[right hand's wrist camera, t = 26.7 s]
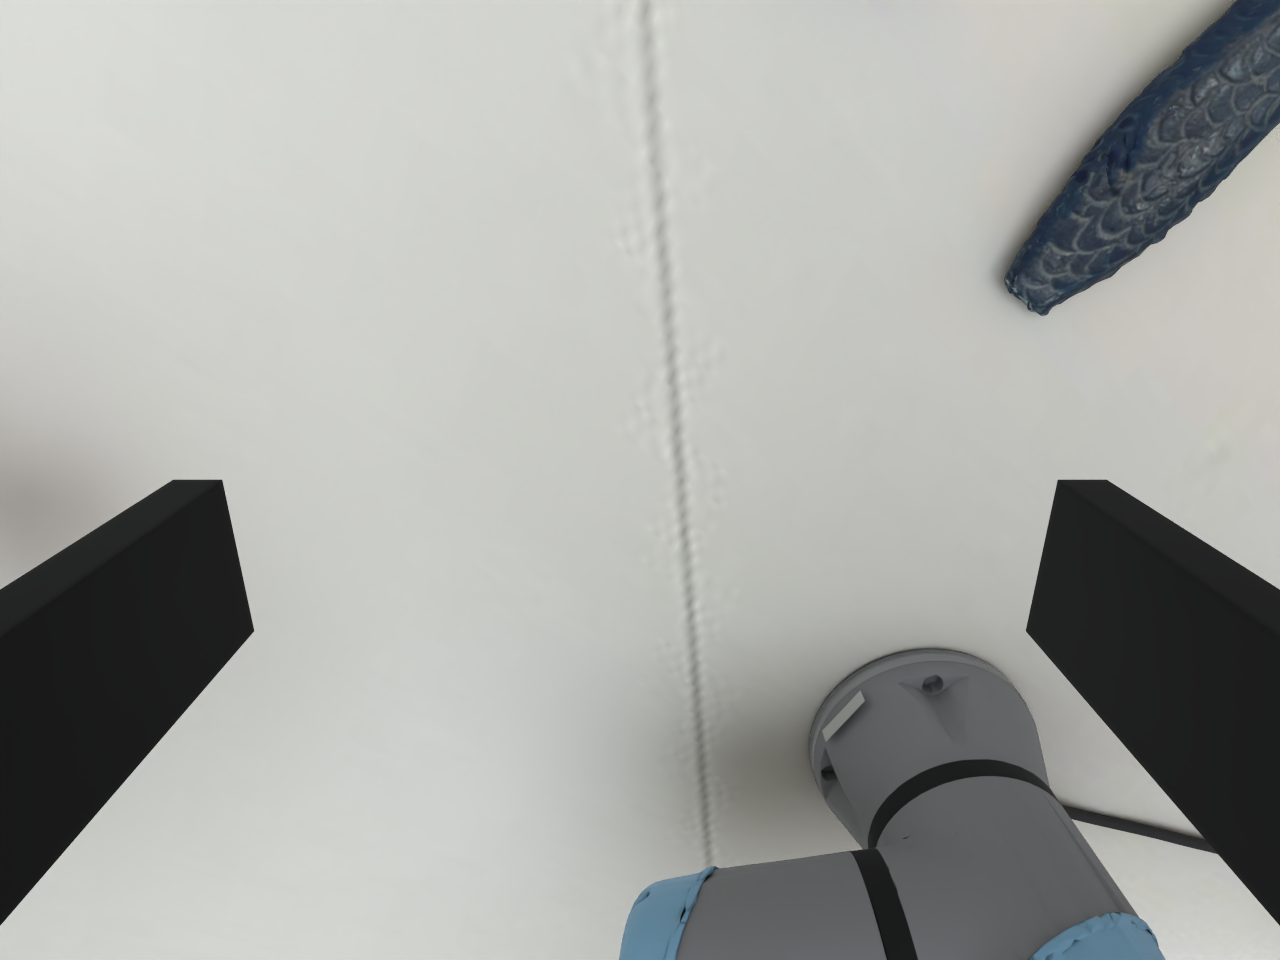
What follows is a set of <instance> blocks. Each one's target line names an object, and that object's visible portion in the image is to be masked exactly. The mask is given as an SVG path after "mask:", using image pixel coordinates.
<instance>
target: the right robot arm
mask: <svg viewBox="0 0 1280 960" xmlns="http://www.w3.org/2000/svg"><path fill="white" fill-rule="evenodd" d="M253 632H254V628H253V623H252V619H251V614H250V609H249V604H248V600H247V595H246V590H245V586H244V581H243V576H242V571H241V567H240V562H239V557H238V552H237V548H236V543H235V538H234V534H233V529H232V524H231V519H230V515H229V510H228V505H227V501H226V496H225V491H224V486H223V482H222V480H172V481H171V482H169V483H168V484H166V485H164V486H163V487H161V488H160V489H158V490H157V491H155V492H153V493H152V494H150V495H149V496H147V497H146V498H144V499H142V500H141V501H139V502H138V503H136V504H134V505H133V506H131V507H130V508H128V509H127V510H125V511H123V512H122V513H120V514H119V515H117V516H116V517H114V518H112V519H111V520H109V521H108V522H106V523H105V524H103V525H101V526H100V527H98V528H97V529H95V530H94V531H92V532H90V533H89V534H87V535H86V536H84V537H83V538H81V539H79V540H78V541H76V542H75V543H73V544H72V545H70V546H68V547H67V548H65V549H64V550H62V551H60V552H59V553H57V554H56V555H54V556H53V557H51V558H49V559H48V560H46V561H45V562H43V563H42V564H40V565H38V566H37V567H35V568H34V569H32V570H31V571H29V572H27V573H26V574H24V575H23V576H21V577H20V578H18V579H16V580H15V581H13V582H12V583H10V584H9V585H7V586H5V587H4V588H2V589H1V590H0V925H1V924H2V923H3V922H4V921H5V919H6V918H7V917H8V916H9V915H10V914H11V912H12V911H13V910H14V909H15V908H16V907H17V905H18V904H19V903H20V902H21V901H22V900H23V898H24V897H25V896H26V895H27V894H28V893H29V892H30V890H31V889H32V888H33V887H34V886H35V885H36V883H37V882H38V881H39V880H40V879H41V878H42V876H43V875H44V874H45V873H46V872H47V871H48V869H49V868H50V867H51V866H52V865H53V864H54V863H55V861H56V860H57V859H58V858H59V857H60V856H61V854H62V853H63V852H64V851H65V850H66V849H67V847H68V846H69V845H70V844H71V843H72V842H73V841H74V839H75V838H76V837H77V836H78V835H79V834H80V832H81V831H82V830H83V829H84V828H85V827H86V825H87V824H88V823H89V822H90V821H91V820H92V818H93V817H94V816H95V815H96V814H97V813H98V812H99V810H100V809H101V808H102V807H103V806H104V805H105V803H106V802H107V801H108V800H109V799H110V798H111V796H112V795H113V794H114V793H115V792H116V791H117V789H118V788H119V787H120V786H121V785H122V784H123V783H124V781H125V780H126V779H127V778H128V777H129V776H130V774H131V773H132V772H133V771H134V770H135V769H136V767H137V766H138V765H139V764H140V763H141V762H142V760H143V759H144V758H145V757H146V756H147V755H148V754H149V752H150V751H151V750H152V749H153V748H154V747H155V745H156V744H157V743H158V742H159V741H160V740H161V738H162V737H163V736H164V735H165V734H166V733H167V731H168V730H169V729H170V728H171V727H172V726H173V725H174V723H175V722H176V721H177V720H178V719H179V718H180V716H181V715H182V714H183V713H184V712H185V711H186V709H187V708H188V707H189V706H190V705H191V704H192V702H193V701H194V700H195V699H196V698H197V697H198V696H199V694H200V693H201V692H202V691H203V690H204V689H205V687H206V686H207V685H208V684H209V683H210V682H211V680H212V679H213V678H214V677H215V676H216V675H217V673H218V672H219V671H220V670H221V669H222V668H223V667H224V665H225V664H226V663H227V662H228V661H229V660H230V658H231V657H232V656H233V655H234V654H235V653H236V651H237V650H238V649H239V648H240V647H241V646H242V644H243V643H244V642H245V641H246V640H247V639H248V638H249V636H250V635H251V634H252V633H253ZM1026 632H1027V633H1028V634H1029V635H1030V636H1031V638H1032V639H1033V640H1034V641H1035V642H1036V643H1037V644H1038V646H1039V647H1040V648H1041V649H1042V650H1043V651H1044V653H1045V654H1046V655H1047V656H1048V657H1049V658H1050V660H1051V661H1052V662H1053V663H1054V664H1055V665H1056V667H1057V668H1058V669H1059V670H1060V671H1061V672H1062V673H1063V675H1064V676H1065V677H1066V678H1067V679H1068V680H1069V682H1070V683H1071V684H1072V685H1073V686H1074V687H1075V689H1076V690H1077V691H1078V692H1079V693H1080V694H1081V696H1082V697H1083V698H1084V699H1085V700H1086V701H1087V702H1088V704H1089V705H1090V706H1091V707H1092V708H1093V709H1094V711H1095V712H1096V713H1097V714H1098V715H1099V716H1100V718H1101V719H1102V720H1103V721H1104V722H1105V723H1106V725H1107V726H1108V727H1109V728H1110V729H1111V730H1112V731H1113V733H1114V734H1115V735H1116V736H1117V737H1118V738H1119V740H1120V741H1121V742H1122V743H1123V744H1124V745H1125V747H1126V748H1127V749H1128V750H1129V751H1130V752H1131V754H1132V755H1133V756H1134V757H1135V758H1136V759H1137V760H1138V762H1139V763H1140V764H1141V765H1142V766H1143V767H1144V769H1145V770H1146V771H1147V772H1148V773H1149V774H1150V776H1151V777H1152V778H1153V779H1154V780H1155V781H1156V783H1157V784H1158V785H1159V786H1160V787H1161V788H1162V789H1163V791H1164V792H1165V793H1166V794H1167V795H1168V796H1169V798H1170V799H1171V800H1172V801H1173V802H1174V803H1175V805H1176V806H1177V807H1178V808H1179V809H1180V810H1181V812H1182V813H1183V814H1184V815H1185V816H1186V817H1187V818H1188V820H1189V821H1190V822H1191V823H1192V824H1193V825H1194V827H1195V828H1196V829H1197V830H1198V831H1199V832H1200V834H1201V835H1202V836H1203V837H1204V838H1205V839H1206V840H1203V839H1199V838H1195V837H1191V836H1187V835H1183V834H1179V833H1175V832H1171V831H1168V830H1164V829H1160V828H1156V827H1152V826H1147V825H1143V824H1139V823H1135V822H1130V821H1126V820H1121V819H1117V818H1112V817H1108V816H1104V815H1099V814H1095V813H1091V812H1087V811H1083V810H1079V809H1075V808H1071V807H1067V806H1064V805H1061V804H1060V803H1059V801H1058V800H1057V798H1056V797H1055V795H1054V794H1053V792H1052V791H1051V789H1050V787H1049V782H1048V778H1047V773H1046V769H1045V764H1044V760H1043V755H1042V751H1041V746H1040V741H1039V737H1038V732H1037V728H1036V725H1035V722H1034V720H1033V718H1032V715H1031V713H1030V711H1029V709H1028V707H1027V705H1026V703H1025V701H1024V700H1023V698H1022V697H1021V696H1020V694H1019V693H1018V691H1017V690H1016V689H1015V687H1014V686H1013V685H1012V683H1011V682H1010V681H1009V680H1008V679H1007V678H1006V677H1005V676H1004V675H1003V674H1002V673H1001V672H1000V671H999V670H997V669H996V668H994V667H993V666H992V665H990V664H988V663H986V662H984V661H983V660H980V659H978V658H976V657H973V656H970V655H967V654H964V653H960V652H955V651H949V650H938V649H925V650H914V651H907V652H902V653H898V654H894V655H891V656H887V657H885V658H882V659H879V660H877V661H875V662H873V663H871V664H868V665H866V666H865V667H863V668H861V669H859V670H858V671H856V672H855V673H853V674H852V675H850V676H849V677H848V678H847V679H845V680H844V681H843V682H842V683H841V684H839V685H838V686H837V687H836V688H835V689H834V690H833V692H832V693H831V694H830V695H829V696H828V698H827V699H826V700H825V702H824V703H823V705H822V706H821V708H820V710H819V712H818V713H817V715H816V718H815V720H814V723H813V726H812V729H811V733H810V739H809V756H810V762H811V766H812V770H813V773H814V776H815V779H816V782H817V785H818V787H819V789H820V791H821V793H822V795H823V797H824V799H825V801H826V803H827V805H828V806H829V808H830V809H831V810H832V812H833V813H834V814H835V815H836V817H837V818H838V819H839V820H840V821H841V823H842V824H843V825H844V826H845V828H846V829H847V830H848V831H849V832H850V834H851V835H852V836H853V837H854V839H855V840H856V841H857V842H858V844H859V845H860V846H861V847H862V848H863V850H857V851H847V852H840V853H833V854H826V855H819V856H813V857H806V858H799V859H792V860H784V861H776V862H768V863H760V864H753V865H745V866H737V867H729V868H721V869H720V868H717V867H715V866H714V867H708V868H706V869H705V870H703V871H702V872H701V873H697V874H692V875H687V876H682V877H677V878H672V879H667V880H662V881H658V882H656V883H654V884H651V885H650V886H648V887H647V888H646V889H645V890H644V891H643V892H642V893H641V894H640V895H639V897H638V898H637V900H636V901H635V903H634V905H633V907H632V910H631V912H630V914H629V916H628V919H627V923H626V926H625V930H624V935H623V939H622V944H621V951H620V957H619V960H1165V958H1164V956H1163V955H1162V953H1161V951H1160V950H1159V947H1158V943H1157V939H1156V937H1155V935H1154V934H1153V933H1152V930H1151V929H1150V928H1149V926H1148V925H1147V923H1146V922H1144V921H1143V920H1142V919H1140V918H1139V917H1138V915H1137V914H1136V912H1135V911H1134V909H1133V908H1132V907H1131V905H1130V904H1129V902H1128V901H1127V899H1126V898H1125V896H1124V895H1123V894H1122V892H1121V891H1120V889H1119V888H1118V886H1117V885H1116V883H1115V882H1114V880H1113V879H1112V878H1111V876H1110V875H1109V873H1108V872H1107V870H1106V869H1105V867H1104V866H1103V865H1102V863H1101V862H1100V860H1099V859H1098V857H1097V856H1096V854H1095V853H1094V852H1093V850H1092V849H1091V847H1090V846H1089V844H1088V843H1087V841H1086V840H1085V839H1084V837H1083V836H1082V834H1081V833H1080V831H1079V830H1078V828H1077V827H1076V826H1075V824H1074V823H1073V821H1072V820H1071V819H1074V820H1078V821H1082V822H1086V823H1090V824H1095V825H1099V826H1103V827H1108V828H1112V829H1117V830H1121V831H1126V832H1130V833H1134V834H1139V835H1143V836H1147V837H1151V838H1156V839H1160V840H1163V841H1167V842H1171V843H1175V844H1179V845H1183V846H1187V847H1191V848H1195V849H1199V850H1203V851H1208V852H1212V853H1216V854H1219V856H1220V857H1221V858H1222V859H1223V860H1224V861H1225V863H1226V864H1227V865H1228V866H1229V867H1230V868H1231V869H1232V871H1233V872H1234V873H1235V874H1236V875H1237V876H1238V878H1239V879H1240V880H1241V881H1242V882H1243V883H1244V885H1245V886H1246V887H1247V888H1248V889H1249V890H1250V892H1251V893H1252V894H1253V895H1254V896H1255V897H1256V898H1257V900H1258V901H1259V902H1260V903H1261V904H1262V905H1263V907H1264V908H1265V909H1266V910H1267V911H1268V912H1269V914H1270V915H1271V916H1272V917H1273V918H1274V919H1275V921H1276V922H1277V923H1278V924H1279V925H1280V590H1279V589H1278V588H1276V587H1275V586H1273V585H1271V584H1270V583H1268V582H1267V581H1265V580H1264V579H1262V578H1260V577H1259V576H1257V575H1256V574H1254V573H1253V572H1251V571H1249V570H1248V569H1246V568H1245V567H1243V566H1242V565H1240V564H1238V563H1237V562H1235V561H1234V560H1232V559H1231V558H1229V557H1227V556H1226V555H1224V554H1223V553H1221V552H1220V551H1218V550H1216V549H1215V548H1213V547H1212V546H1210V545H1208V544H1207V543H1205V542H1204V541H1202V540H1201V539H1199V538H1197V537H1196V536H1194V535H1193V534H1191V533H1190V532H1188V531H1186V530H1185V529H1183V528H1182V527H1180V526H1179V525H1177V524H1175V523H1174V522H1172V521H1171V520H1169V519H1168V518H1166V517H1164V516H1163V515H1161V514H1160V513H1158V512H1157V511H1155V510H1153V509H1152V508H1150V507H1149V506H1147V505H1146V504H1144V503H1142V502H1141V501H1139V500H1138V499H1136V498H1134V497H1133V496H1131V495H1130V494H1128V493H1127V492H1125V491H1123V490H1122V489H1120V488H1119V487H1117V486H1116V485H1114V484H1112V483H1111V482H1109V481H1108V480H1058V482H1057V486H1056V491H1055V496H1054V501H1053V505H1052V510H1051V515H1050V519H1049V524H1048V529H1047V534H1046V538H1045V543H1044V548H1043V552H1042V557H1041V562H1040V567H1039V571H1038V576H1037V581H1036V586H1035V590H1034V595H1033V600H1032V604H1031V609H1030V614H1029V619H1028V623H1027V628H1026Z"/></svg>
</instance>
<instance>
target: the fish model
mask: <svg viewBox="0 0 1280 960" xmlns="http://www.w3.org/2000/svg"><path fill="white" fill-rule="evenodd" d="M1279 123H1280V0H1237V1H1236V2H1235V3H1234V4H1233V5H1232V6H1231V7H1230V8H1229V9H1228V11H1227V12H1226V13H1225V14H1224V15H1223V16H1222V17H1221V18H1220V19H1219V20H1217V21H1216V22H1215V23H1214V24H1212V25H1211V26H1210V27H1209V28H1208V29H1207V30H1206V31H1205V32H1204V33H1203V34H1202V35H1201V36H1200V37H1199V38H1198V39H1196V40H1195V41H1194V42H1193V43H1192V44H1191V45H1189V46H1188V47H1187V48H1186V49H1185V50H1184V51H1183V53H1182V55H1181V57H1180V58H1179V60H1178V61H1177V62H1176V63H1175V64H1174V65H1173V66H1171V67H1169V68H1167V69H1166V70H1164V71H1163V72H1162V73H1160V74H1159V75H1158V76H1157V77H1156V78H1155V79H1154V80H1153V81H1152V82H1151V83H1150V84H1149V85H1148V86H1147V87H1146V88H1145V90H1144V91H1143V93H1142V94H1141V95H1140V96H1139V97H1137V98H1136V99H1134V100H1133V101H1132V102H1131V103H1130V105H1129V106H1128V107H1127V108H1126V109H1125V110H1124V111H1123V113H1122V114H1121V115H1120V116H1119V117H1118V119H1117V120H1116V121H1115V122H1114V124H1113V125H1112V126H1111V127H1110V128H1109V129H1107V130H1106V131H1105V133H1104V134H1103V135H1102V136H1101V137H1100V138H1099V139H1098V140H1097V142H1096V144H1095V145H1094V147H1093V148H1092V150H1091V151H1090V152H1089V153H1088V154H1087V155H1086V156H1085V157H1084V159H1083V161H1082V164H1081V166H1080V167H1079V169H1078V170H1077V171H1076V172H1075V173H1074V174H1073V175H1072V177H1071V178H1070V179H1069V181H1068V182H1067V184H1066V186H1065V188H1064V190H1063V191H1062V193H1061V194H1060V195H1059V196H1058V197H1057V198H1056V199H1055V201H1054V202H1053V204H1052V205H1051V207H1050V208H1049V209H1048V210H1047V212H1046V213H1045V214H1044V215H1043V216H1042V217H1041V218H1040V220H1039V222H1038V223H1037V229H1036V230H1035V231H1034V232H1033V233H1032V235H1031V237H1030V238H1029V239H1028V240H1027V241H1026V243H1025V244H1024V246H1023V247H1022V248H1021V250H1020V251H1019V253H1018V254H1017V256H1016V258H1015V260H1014V262H1013V264H1012V265H1011V267H1010V269H1009V271H1008V272H1007V274H1006V276H1005V279H1004V282H1005V285H1006V286H1007V288H1008V291H1009V292H1010V293H1013V294H1014V296H1016V297H1017V298H1018V299H1020V300H1022V301H1023V302H1024V303H1025V304H1026V305H1027V306H1028V310H1030V311H1031V312H1037V313H1038V314H1039V315H1041V316H1045V315H1047V314H1048V313H1049V311H1050V310H1051V308H1052V307H1054V306H1055V305H1057V304H1061V303H1062V302H1064V301H1065V300H1067V299H1068V298H1070V297H1071V296H1073V295H1075V294H1077V293H1080V292H1082V291H1084V290H1086V289H1088V288H1089V287H1091V286H1092V285H1094V284H1095V283H1097V282H1099V281H1102V280H1104V279H1107V278H1110V277H1111V276H1113V275H1114V274H1115V273H1116V272H1117V271H1118V270H1119V269H1120V268H1121V266H1123V265H1125V264H1126V263H1128V262H1129V261H1131V260H1133V259H1134V258H1136V257H1138V256H1139V255H1140V254H1141V253H1142V252H1143V251H1144V250H1145V249H1146V248H1147V247H1148V246H1149V245H1151V244H1155V243H1158V242H1159V241H1161V240H1163V239H1164V238H1165V236H1166V233H1167V232H1168V230H1169V229H1171V228H1172V227H1173V226H1174V225H1176V224H1178V223H1180V222H1181V221H1183V220H1184V219H1186V218H1187V217H1188V216H1189V215H1190V214H1191V212H1192V209H1193V208H1194V207H1195V206H1196V204H1197V203H1198V202H1201V201H1203V200H1204V199H1206V198H1208V197H1209V196H1210V195H1211V194H1212V193H1213V192H1214V191H1215V189H1216V188H1217V186H1218V185H1219V184H1220V183H1221V182H1222V181H1223V180H1224V179H1226V178H1227V177H1228V176H1229V175H1230V174H1231V172H1232V171H1233V170H1234V169H1235V167H1236V166H1237V165H1238V163H1240V162H1241V161H1242V160H1243V159H1244V158H1245V157H1246V156H1247V155H1248V154H1249V153H1250V152H1251V151H1252V150H1253V149H1254V148H1255V147H1256V146H1257V145H1258V144H1259V143H1260V142H1261V141H1262V139H1263V138H1264V137H1265V136H1266V135H1267V134H1268V133H1269V132H1270V131H1271V130H1272V129H1273V128H1275V127H1276V126H1277V125H1278V124H1279Z"/></svg>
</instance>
